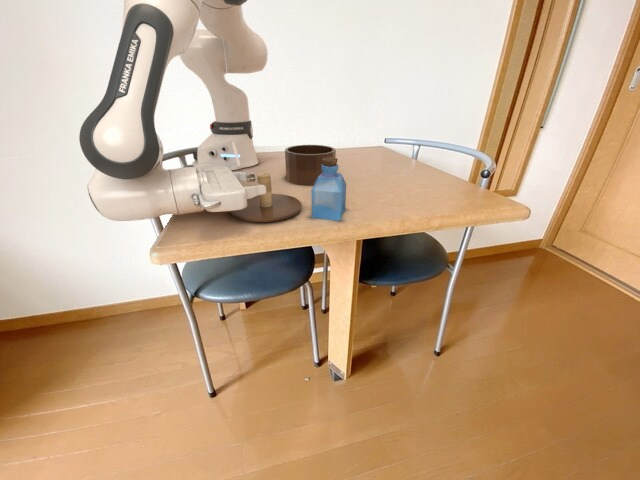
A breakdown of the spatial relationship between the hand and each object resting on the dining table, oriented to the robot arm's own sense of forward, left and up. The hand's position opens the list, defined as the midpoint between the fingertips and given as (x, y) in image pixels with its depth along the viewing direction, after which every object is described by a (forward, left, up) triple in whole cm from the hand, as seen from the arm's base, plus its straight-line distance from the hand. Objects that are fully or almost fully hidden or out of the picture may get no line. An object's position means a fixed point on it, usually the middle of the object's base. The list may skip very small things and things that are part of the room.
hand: (259, 182), depth 64 cm
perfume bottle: (+15, -3, -7) cm, 17 cm away
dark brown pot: (+12, +25, -7) cm, 29 cm away
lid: (+1, 0, -6) cm, 6 cm away
